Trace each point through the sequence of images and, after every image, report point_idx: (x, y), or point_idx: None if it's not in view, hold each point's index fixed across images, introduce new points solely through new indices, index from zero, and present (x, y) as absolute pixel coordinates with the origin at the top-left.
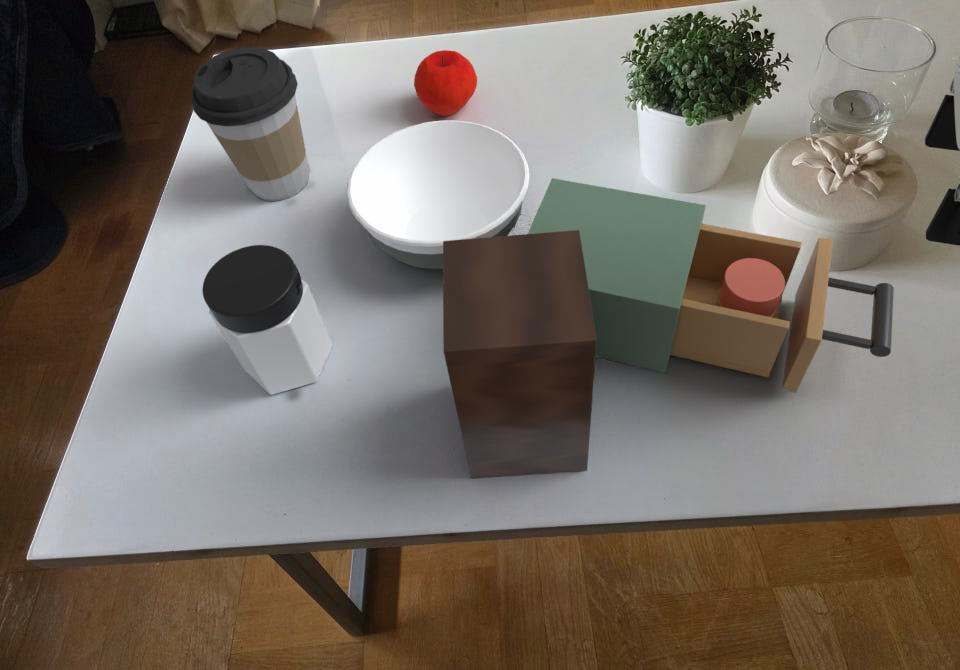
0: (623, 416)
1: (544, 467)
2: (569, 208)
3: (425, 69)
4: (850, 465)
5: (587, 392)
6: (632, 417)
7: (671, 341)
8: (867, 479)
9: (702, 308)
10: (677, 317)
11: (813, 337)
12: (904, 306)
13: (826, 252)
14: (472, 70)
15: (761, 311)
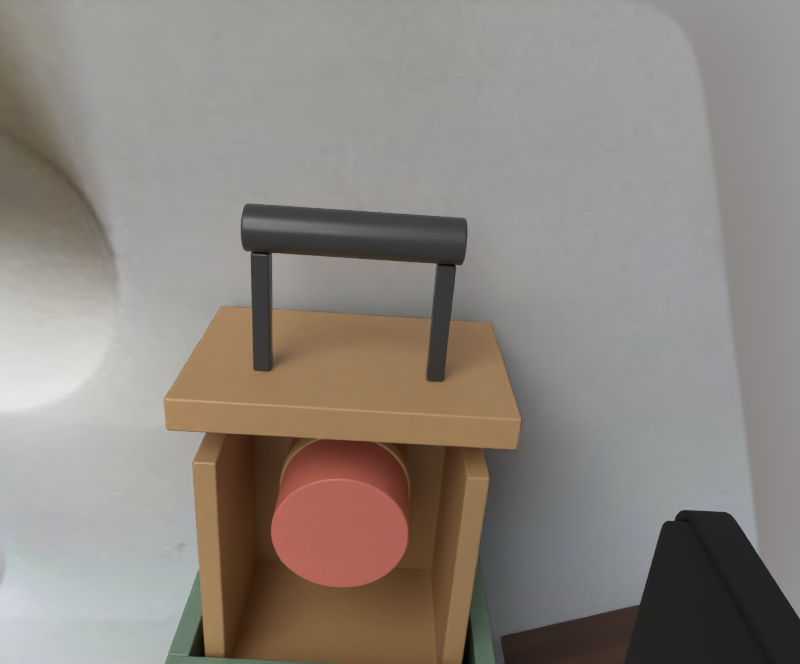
0: (573, 563)
1: None
2: None
3: None
4: (632, 206)
5: None
6: (573, 552)
7: (484, 595)
8: (661, 175)
9: (463, 627)
10: (495, 662)
11: (514, 435)
12: (164, 78)
13: (216, 412)
14: None
15: (403, 489)
